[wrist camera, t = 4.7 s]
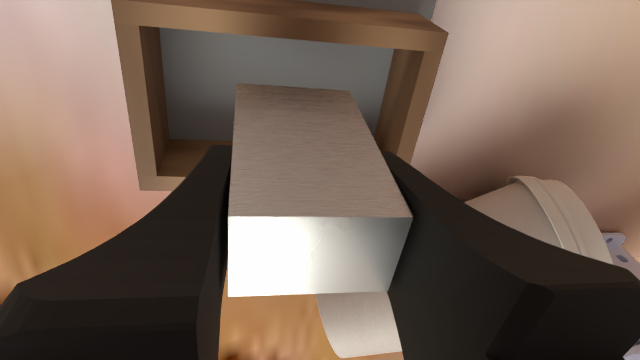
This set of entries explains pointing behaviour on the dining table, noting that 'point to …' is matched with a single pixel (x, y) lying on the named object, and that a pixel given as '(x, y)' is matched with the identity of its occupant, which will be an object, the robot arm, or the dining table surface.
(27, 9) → the dining table surface
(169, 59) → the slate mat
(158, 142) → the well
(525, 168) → the dining table surface
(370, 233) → the brushed aluminum block
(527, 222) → the coffee cup
